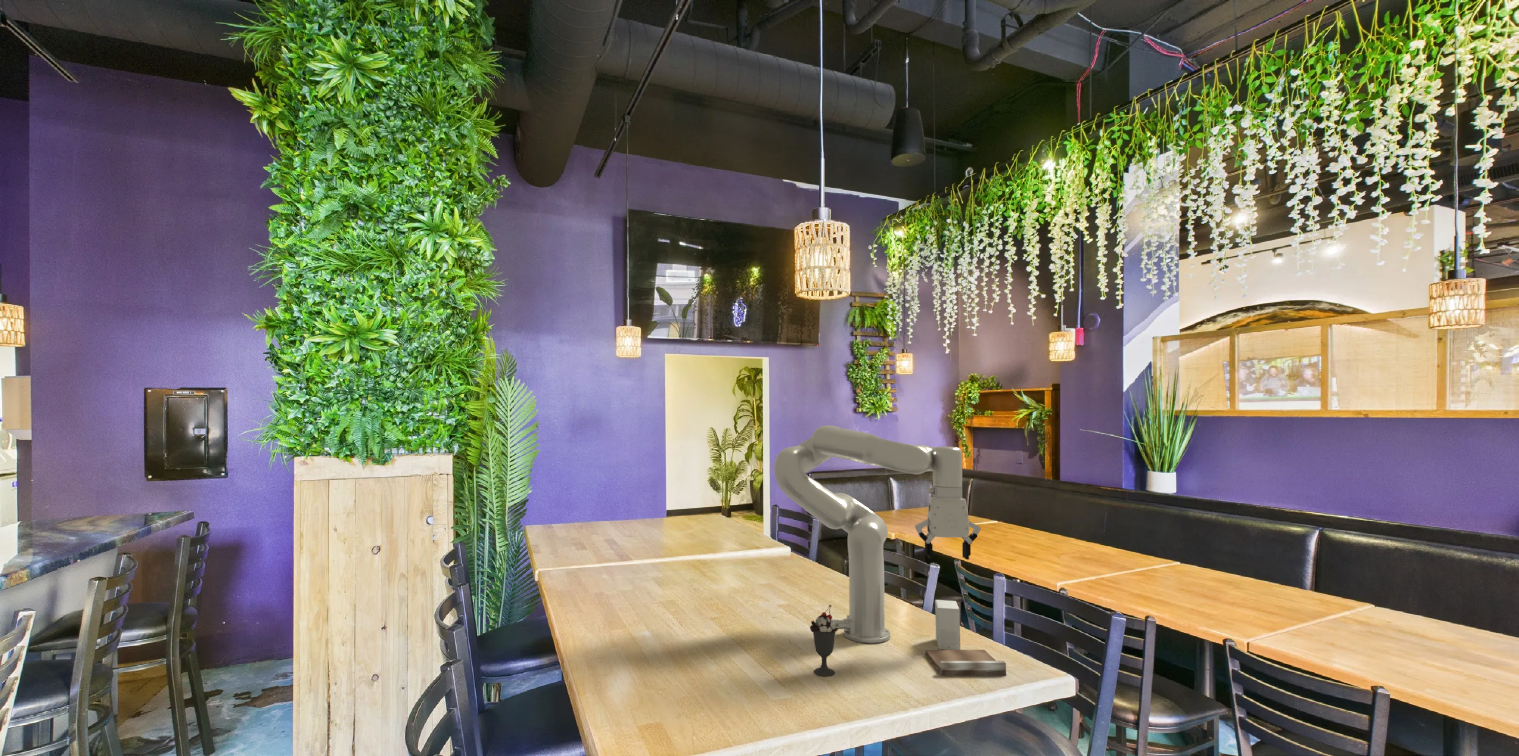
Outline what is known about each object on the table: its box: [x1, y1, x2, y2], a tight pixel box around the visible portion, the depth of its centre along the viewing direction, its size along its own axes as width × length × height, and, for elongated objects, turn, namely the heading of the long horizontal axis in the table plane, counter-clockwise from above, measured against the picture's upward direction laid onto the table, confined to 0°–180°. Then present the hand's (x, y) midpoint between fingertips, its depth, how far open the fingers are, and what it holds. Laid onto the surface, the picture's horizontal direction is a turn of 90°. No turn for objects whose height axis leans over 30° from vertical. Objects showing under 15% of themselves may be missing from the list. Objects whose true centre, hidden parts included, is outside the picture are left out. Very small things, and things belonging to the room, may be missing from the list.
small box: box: [934, 599, 961, 650], centre depth 164 cm, size 8×6×10 cm
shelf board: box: [924, 649, 1007, 676], centre depth 150 cm, size 15×13×3 cm
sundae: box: [809, 604, 839, 677], centre depth 145 cm, size 7×7×15 cm
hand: (947, 558), depth 165 cm, fingers open, 9 cm apart
